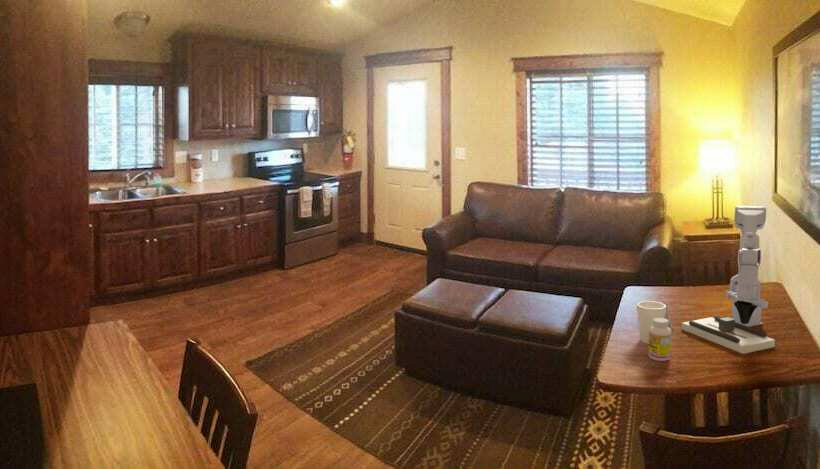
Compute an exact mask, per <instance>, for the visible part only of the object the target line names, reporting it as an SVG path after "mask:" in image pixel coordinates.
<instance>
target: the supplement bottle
mask: <svg viewBox="0 0 820 469" xmlns="http://www.w3.org/2000/svg"><path fill="white" fill-rule="evenodd" d="M653 324H654V325H653V326H651V327H650V329H649V344H648V358H650V359H651V360H653V361H658V362H666V361H669V360H670V359H671V354H672V334H673V331H671V329H670V328H669V327H668V325H669V320H668V319H665V318H654V319H653Z"/></svg>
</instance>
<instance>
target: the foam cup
mask: <svg viewBox="0 0 820 469" xmlns="http://www.w3.org/2000/svg"><path fill="white" fill-rule="evenodd" d="M660 302H661V301H660ZM660 302H659V301H654V300H653V301H652V300H643V301H639V302H637V303H636V312H637V318H638V319H637V320H638V329H639V340H640V342H642V343H644V344H648V345H649V329H650V327H651V326H653V325H654V324H653V319H654V318H665V314H666V305H665V304H663V303H660Z"/></svg>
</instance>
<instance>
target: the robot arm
mask: <svg viewBox="0 0 820 469" xmlns="http://www.w3.org/2000/svg"><path fill="white" fill-rule="evenodd" d="M733 220H734V222H733V223H734V228H737V229H739V231H740V233H741V235H740V238H739V250H738V251H737V252H738V253H737V267H738V268H737V269H738V270H737V271H738V274H735V275H734V276H732V277H731V278H730V282H729V291H726V292H725V298H728V299H729V298H730V299H732V310H731V311H732V312H731V318H732V319H735V322H736V323H739V324H742V325H745V326H747V327H750V328H752V327H754V326H759V325H763V322H761V320H762V319H761V318H762V309H768V308H769V301H767V300H763V299H761V289H762V288H761V280H760V278H759V269H760V268H759V267H760V266H761V262H762V251H761V250H762V249H761V247H760V236H759V235H758V234H757V232H758V231H759V230H762V229H764V227H765V224H766V221H767V207H766V206H765V205H762V206H759V205H758V206H756V205H755V206H753V205H739V204H738V205H736V206H735V207H734V218H733Z"/></svg>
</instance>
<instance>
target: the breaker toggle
mask: <svg viewBox="0 0 820 469" xmlns="http://www.w3.org/2000/svg"><path fill="white" fill-rule="evenodd" d="M734 329H735V319H732V317H728V316H726V317H722V318H720V319H719V329H718V330H721V331H724V332H730V331H734Z"/></svg>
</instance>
